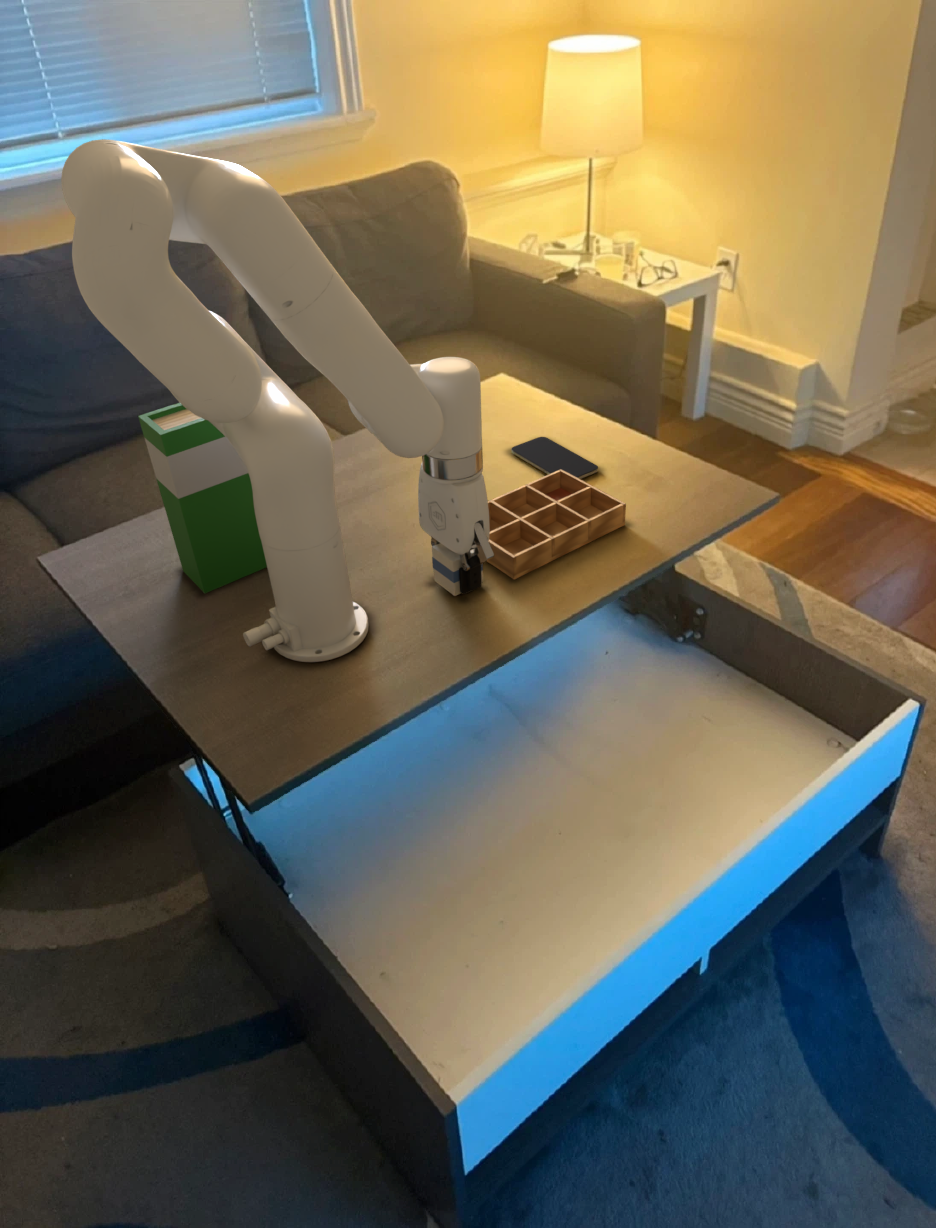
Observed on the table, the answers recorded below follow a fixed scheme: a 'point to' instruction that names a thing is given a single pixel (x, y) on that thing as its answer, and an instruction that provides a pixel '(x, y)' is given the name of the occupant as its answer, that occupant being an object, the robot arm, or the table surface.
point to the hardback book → (204, 497)
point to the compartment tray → (548, 521)
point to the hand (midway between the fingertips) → (458, 579)
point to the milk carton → (448, 568)
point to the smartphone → (553, 458)
